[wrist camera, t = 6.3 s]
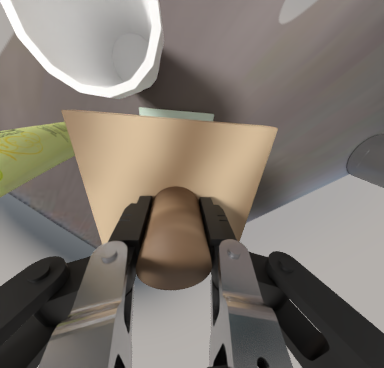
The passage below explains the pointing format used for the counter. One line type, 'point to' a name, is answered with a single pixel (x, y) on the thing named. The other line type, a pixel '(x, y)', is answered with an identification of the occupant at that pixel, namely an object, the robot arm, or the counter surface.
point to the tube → (31, 153)
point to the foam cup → (93, 42)
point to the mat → (176, 114)
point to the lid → (168, 182)
